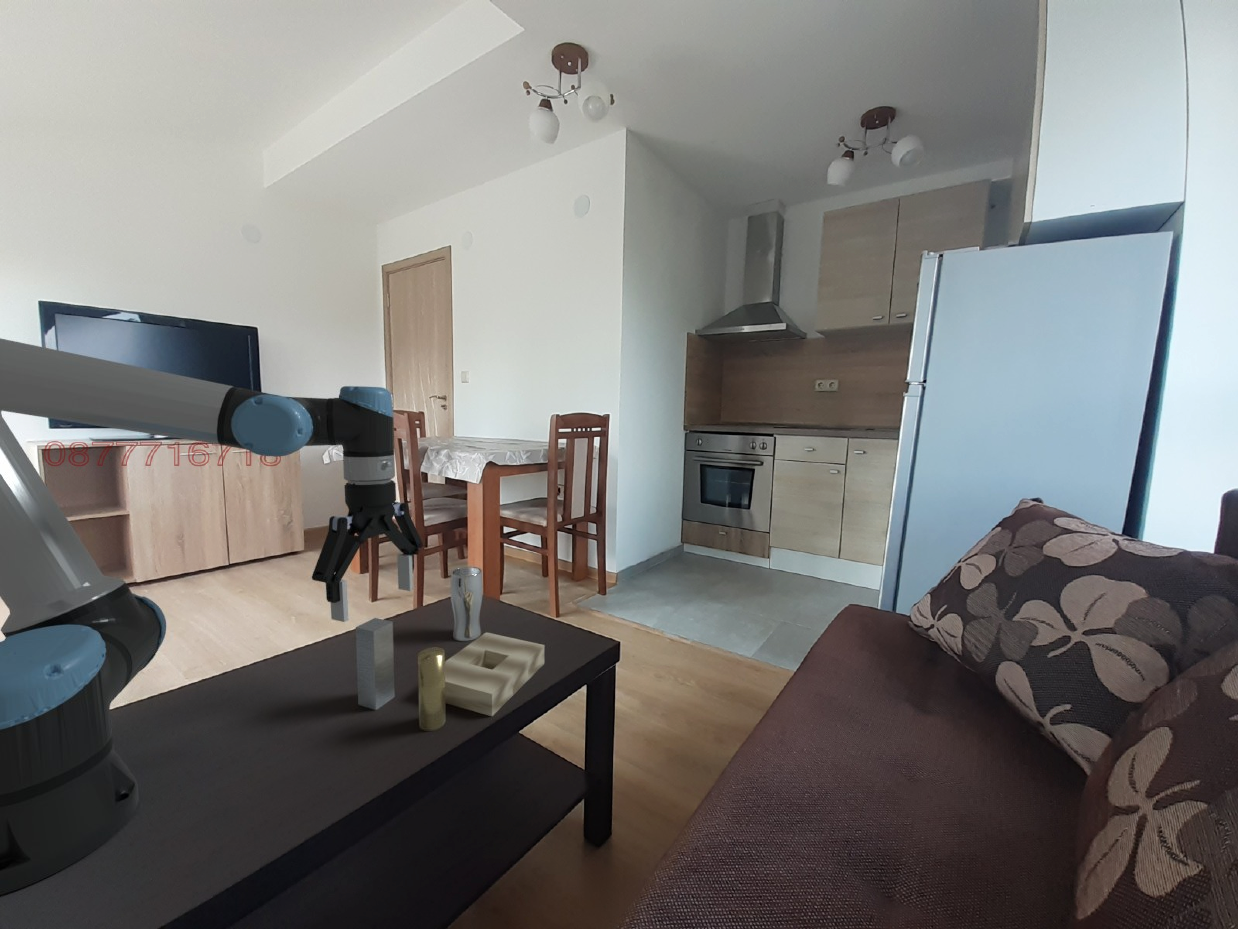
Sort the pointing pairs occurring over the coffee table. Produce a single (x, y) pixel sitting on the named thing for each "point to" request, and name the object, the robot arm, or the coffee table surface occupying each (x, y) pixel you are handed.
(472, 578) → the beer glass
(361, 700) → the square bit
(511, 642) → the socket block
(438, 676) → the round bit
